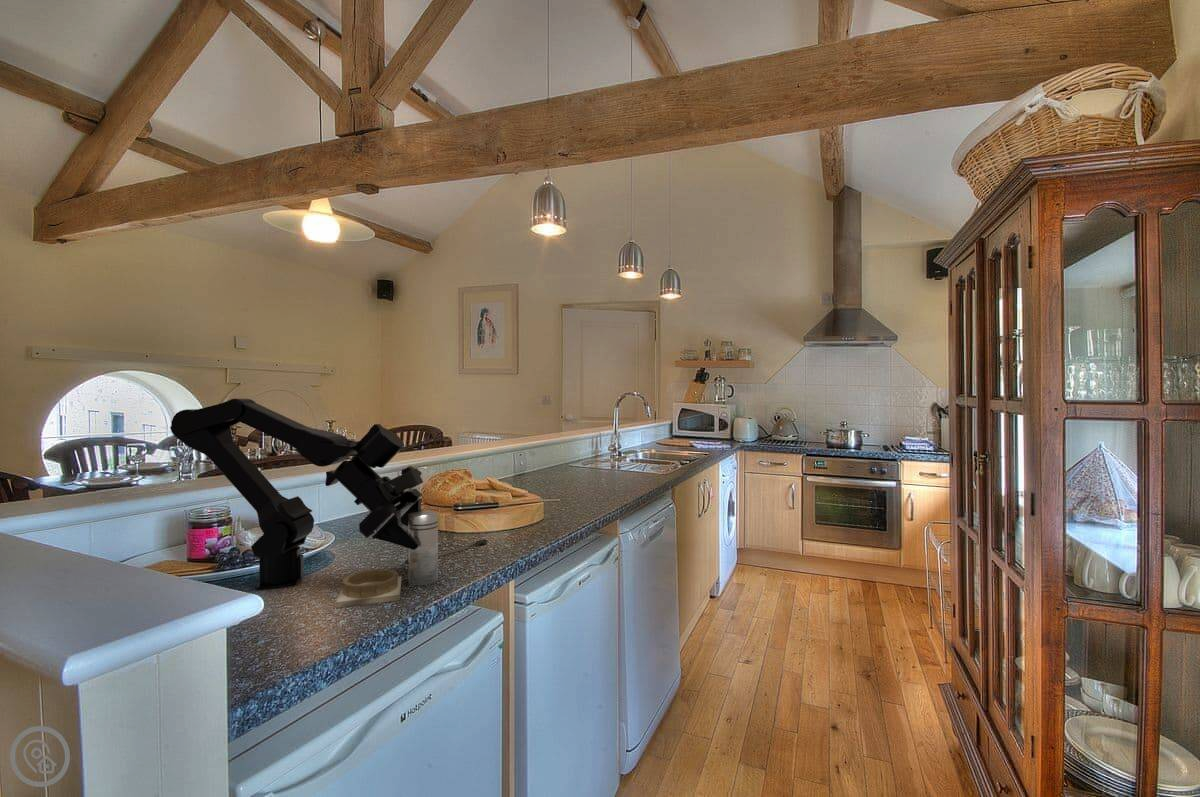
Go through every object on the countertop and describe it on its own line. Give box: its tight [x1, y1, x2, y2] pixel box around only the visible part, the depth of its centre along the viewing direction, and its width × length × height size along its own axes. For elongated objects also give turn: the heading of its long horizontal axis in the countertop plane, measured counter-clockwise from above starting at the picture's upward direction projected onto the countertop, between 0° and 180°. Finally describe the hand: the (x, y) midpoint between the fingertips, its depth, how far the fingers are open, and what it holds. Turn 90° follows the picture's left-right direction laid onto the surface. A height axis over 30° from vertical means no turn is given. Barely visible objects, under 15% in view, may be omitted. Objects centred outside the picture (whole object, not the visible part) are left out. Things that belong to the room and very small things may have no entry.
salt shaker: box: [407, 510, 439, 587], centre depth 101 cm, size 5×5×13 cm
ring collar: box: [335, 568, 403, 609], centre depth 95 cm, size 10×10×3 cm
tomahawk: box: [404, 538, 488, 564], centre depth 118 cm, size 21×7×1 cm, turn 139°
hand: (424, 541), depth 101 cm, fingers open, 9 cm apart
